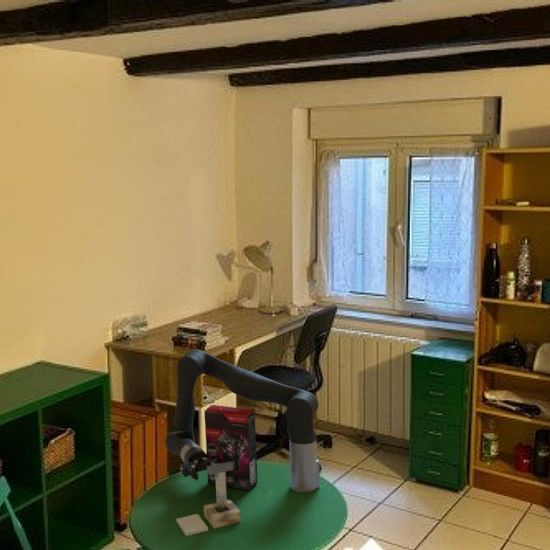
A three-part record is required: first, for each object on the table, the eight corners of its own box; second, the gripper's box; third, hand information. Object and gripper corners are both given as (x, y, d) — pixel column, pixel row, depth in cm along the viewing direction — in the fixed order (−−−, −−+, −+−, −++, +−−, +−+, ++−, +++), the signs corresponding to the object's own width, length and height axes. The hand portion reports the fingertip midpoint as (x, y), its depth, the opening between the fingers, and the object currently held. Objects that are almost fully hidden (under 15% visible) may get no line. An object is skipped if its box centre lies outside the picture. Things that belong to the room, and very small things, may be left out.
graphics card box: (206, 484, 251) (202, 410, 247) (215, 476, 257) (212, 403, 253) (250, 491, 245) (247, 415, 240) (258, 483, 251) (256, 408, 247)
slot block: (230, 509, 232) (230, 499, 232) (240, 521, 224) (240, 511, 224) (204, 516, 229) (203, 505, 228) (213, 528, 220) (213, 518, 220)
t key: (232, 513, 229) (230, 460, 227) (235, 518, 227) (233, 464, 224) (208, 519, 226) (206, 465, 223) (212, 524, 223) (209, 469, 220)
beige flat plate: (197, 516, 228) (197, 513, 228) (208, 530, 219) (207, 527, 219) (176, 521, 225) (176, 518, 225) (186, 536, 216) (186, 533, 216)
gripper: (173, 450, 245) (188, 468, 231) (213, 442, 251) (229, 459, 237) (174, 471, 247) (189, 490, 232) (213, 463, 252) (230, 481, 238)
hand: (209, 474), depth 234 cm, fingers open, 8 cm apart
